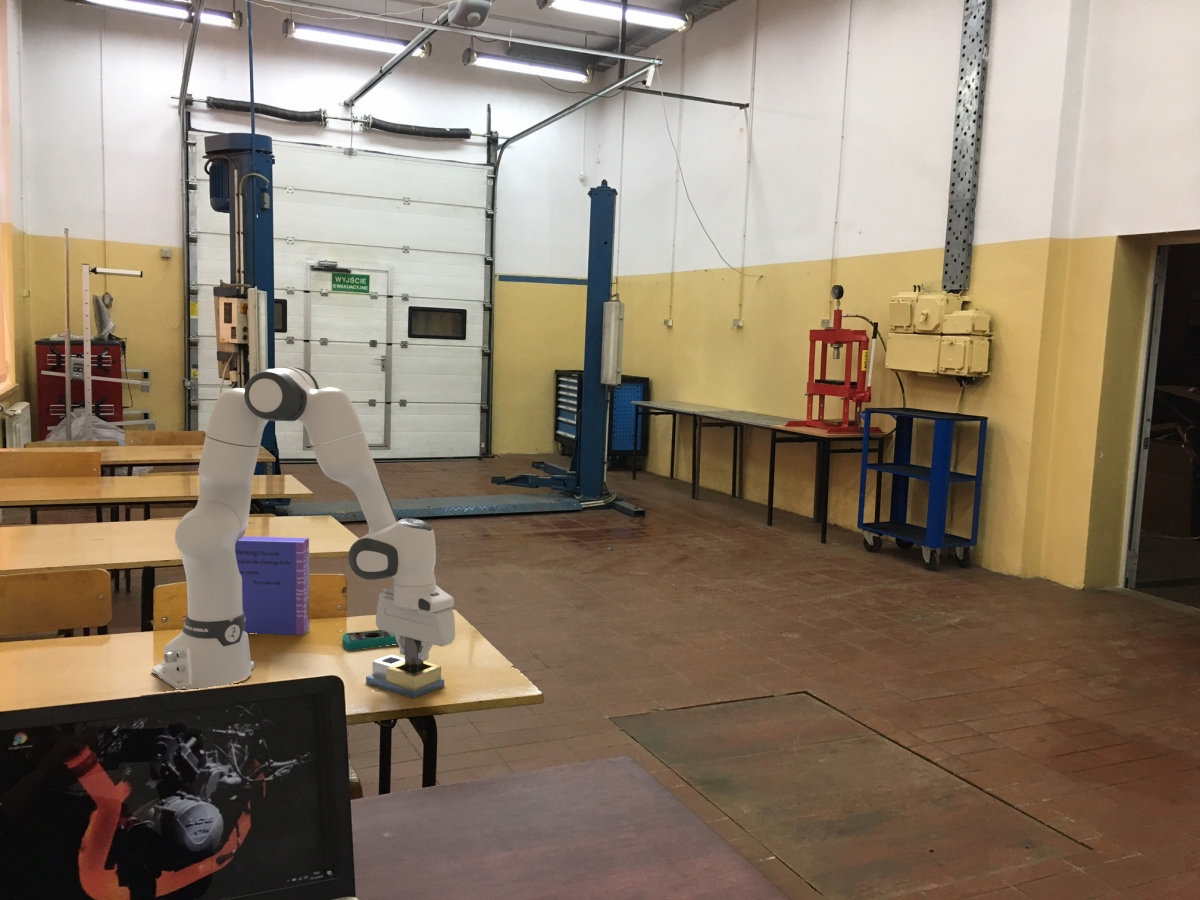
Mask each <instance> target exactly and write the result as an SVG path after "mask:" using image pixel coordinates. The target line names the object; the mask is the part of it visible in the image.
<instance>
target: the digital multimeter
mask: <svg viewBox="0 0 1200 900" xmlns="http://www.w3.org/2000/svg"><path fill="white" fill-rule="evenodd" d="M392 644H398V643H397V641H396V634H393V633H390V632H386V631H382V630H379V629H376V630H375V629H374V630H367V631H356V632H355V631H353V632H346V633H344V634H343V635H342V646H343V648H344V649H345V650H346V651H348V650H351V651H357V650H356V649H359V650H364V649H363V648H367V649H372V648H371V647H376V648H380V647H379V646H385V647H387V646H386V645H392Z"/></svg>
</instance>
